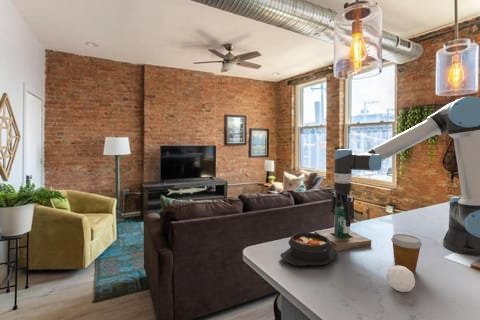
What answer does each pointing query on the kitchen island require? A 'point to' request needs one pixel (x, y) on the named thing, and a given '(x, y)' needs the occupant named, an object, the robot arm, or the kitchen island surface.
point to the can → (340, 223)
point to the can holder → (345, 240)
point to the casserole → (309, 250)
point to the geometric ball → (400, 278)
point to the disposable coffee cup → (406, 250)
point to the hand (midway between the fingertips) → (341, 230)
